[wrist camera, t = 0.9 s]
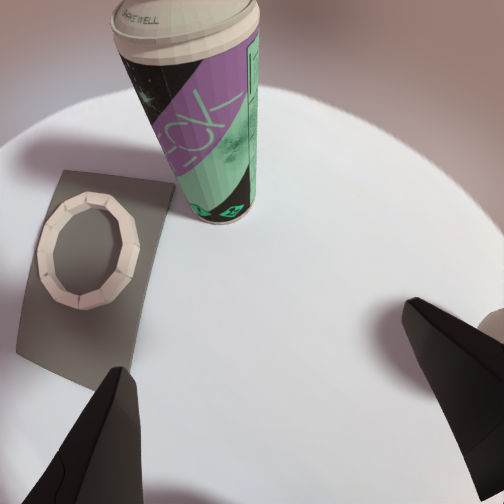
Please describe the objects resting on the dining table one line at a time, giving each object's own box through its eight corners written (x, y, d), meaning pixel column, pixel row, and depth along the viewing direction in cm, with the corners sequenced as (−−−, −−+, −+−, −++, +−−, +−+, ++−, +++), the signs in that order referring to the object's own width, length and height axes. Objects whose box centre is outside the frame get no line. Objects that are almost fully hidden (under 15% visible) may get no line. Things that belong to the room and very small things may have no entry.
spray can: (190, 165, 26) (117, -59, 6) (255, 163, 26) (258, -78, 6) (186, 226, 24) (59, 1, 5) (256, 225, 24) (263, -35, 5)
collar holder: (125, 400, 21) (117, 404, 19) (18, 352, 22) (7, 353, 20) (175, 185, 25) (170, 177, 24) (65, 171, 26) (57, 164, 24)
